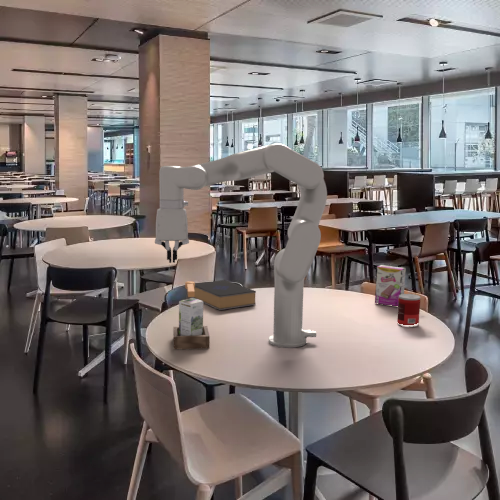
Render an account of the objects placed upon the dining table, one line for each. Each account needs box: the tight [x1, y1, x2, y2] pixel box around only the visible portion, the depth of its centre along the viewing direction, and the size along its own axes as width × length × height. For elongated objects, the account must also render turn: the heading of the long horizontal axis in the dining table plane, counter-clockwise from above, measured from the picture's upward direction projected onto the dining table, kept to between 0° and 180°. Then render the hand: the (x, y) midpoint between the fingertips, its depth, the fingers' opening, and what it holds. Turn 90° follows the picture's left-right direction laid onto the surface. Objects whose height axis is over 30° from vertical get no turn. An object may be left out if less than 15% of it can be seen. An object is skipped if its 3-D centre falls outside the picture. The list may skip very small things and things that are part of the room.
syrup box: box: [178, 298, 204, 336], centre depth 188 cm, size 6×6×14 cm
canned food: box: [396, 293, 421, 325], centre depth 213 cm, size 8×8×11 cm
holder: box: [172, 289, 211, 350], centre depth 191 cm, size 11×18×16 cm, turn 8°
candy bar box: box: [374, 264, 407, 307], centre depth 242 cm, size 11×5×16 cm, turn 58°
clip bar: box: [184, 281, 196, 297], centre depth 190 cm, size 3×15×2 cm, turn 8°
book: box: [194, 279, 257, 311], centre depth 244 cm, size 17×25×7 cm
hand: (172, 261), depth 185 cm, fingers closed
